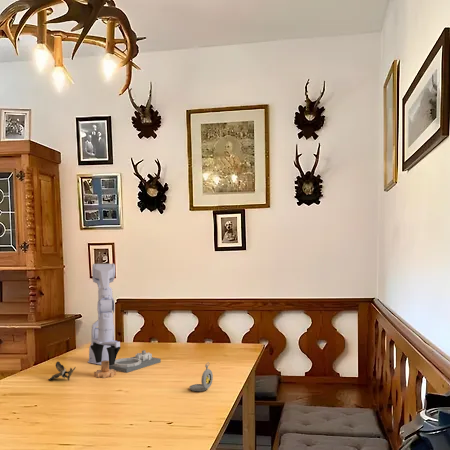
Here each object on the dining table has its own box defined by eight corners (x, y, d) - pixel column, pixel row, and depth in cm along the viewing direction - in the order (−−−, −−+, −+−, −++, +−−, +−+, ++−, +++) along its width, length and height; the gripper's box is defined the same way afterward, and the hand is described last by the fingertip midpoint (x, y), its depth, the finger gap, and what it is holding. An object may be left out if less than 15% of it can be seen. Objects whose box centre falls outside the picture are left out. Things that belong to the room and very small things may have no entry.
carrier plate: (104, 368, 195) (104, 356, 195) (139, 358, 213) (139, 347, 213) (126, 372, 188) (126, 360, 188) (160, 362, 206) (160, 350, 206)
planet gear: (89, 376, 183) (89, 362, 183) (105, 371, 190) (105, 357, 190) (104, 379, 178) (104, 364, 179) (120, 374, 185) (120, 360, 186)
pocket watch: (189, 387, 168) (189, 359, 169) (212, 386, 169) (212, 358, 169) (189, 394, 160) (189, 364, 161) (213, 393, 161) (213, 364, 161)
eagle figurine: (77, 373, 182) (57, 368, 184) (74, 361, 178) (54, 355, 180) (66, 389, 176) (46, 383, 178) (63, 376, 172) (42, 370, 174)
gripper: (85, 329, 186) (85, 363, 185) (110, 332, 178) (110, 368, 177) (99, 326, 192) (98, 359, 191) (124, 329, 184) (123, 364, 183)
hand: (105, 363), depth 184 cm, fingers open, 7 cm apart
